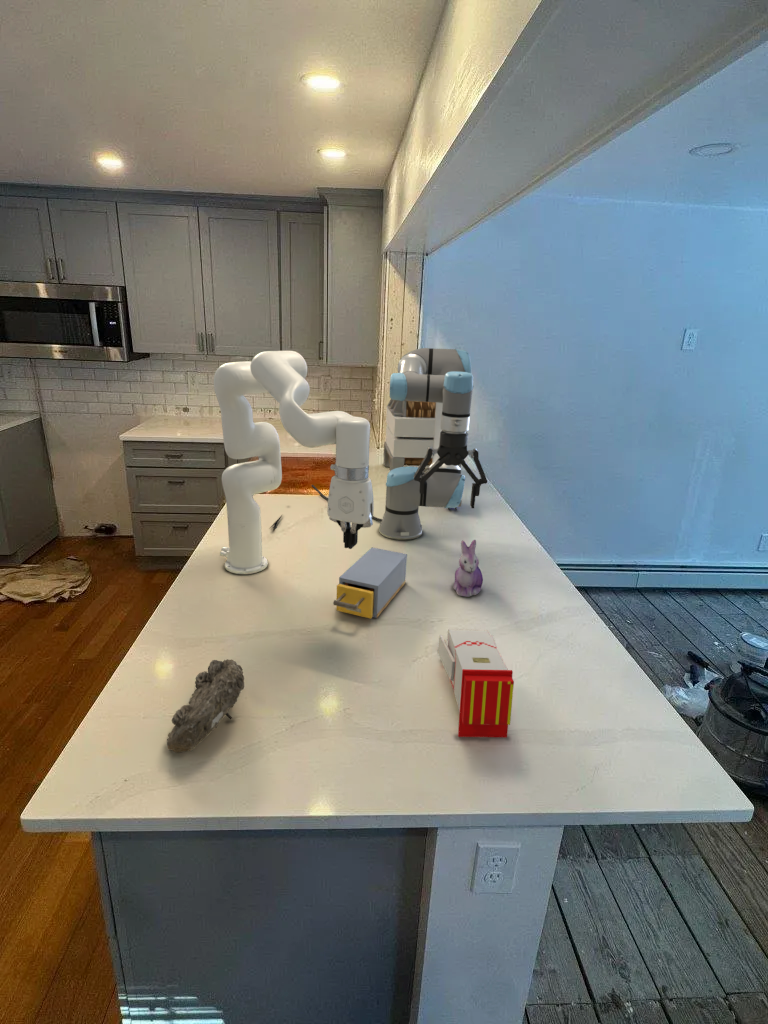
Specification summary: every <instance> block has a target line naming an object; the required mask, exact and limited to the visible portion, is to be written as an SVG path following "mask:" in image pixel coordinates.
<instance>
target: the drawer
mask: <svg viewBox="0 0 768 1024" xmlns="http://www.w3.org/2000/svg"><path fill="white" fill-rule="evenodd" d="M332 605H333V606H335V607H336V608H335V609H336V611H337V612H341V613H346V614H349V615H354V616H357V617H358V616H359V617H362V618H366V619H370V620H371V619H372V618H374V617H373V609H374V589H373V588H368V587H364V586H359V585H355V584H350V583H346V582H345V585H342V584H339V583H338V584H337V585H336V599H334V600H333V602H332Z"/></svg>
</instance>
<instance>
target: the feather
mask: <svg viewBox="0 0 768 1024" xmlns="http://www.w3.org/2000/svg"><path fill="white" fill-rule="evenodd" d="M282 516H283V514H281V516H280V517H278V519H277V520H275V522H274V523H273V524H272V525H271V526H270V527H269V528H268V529H271V528H272V529H273V530H272V532H274V531H275V529H276V528H277V526H278V524H279V522H280V520H281V519H282Z"/></svg>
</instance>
